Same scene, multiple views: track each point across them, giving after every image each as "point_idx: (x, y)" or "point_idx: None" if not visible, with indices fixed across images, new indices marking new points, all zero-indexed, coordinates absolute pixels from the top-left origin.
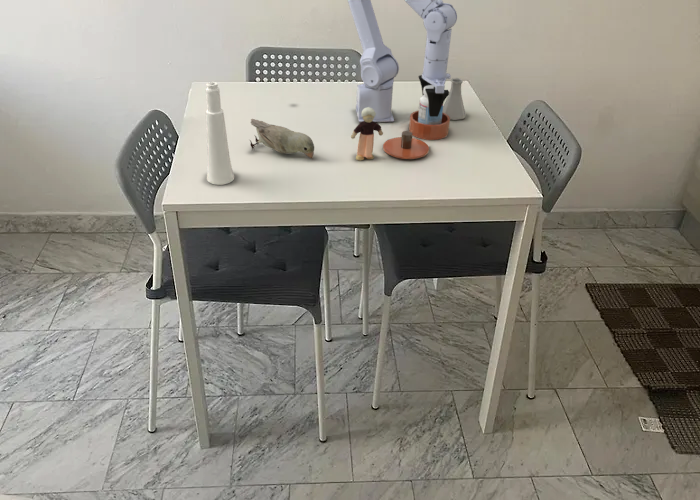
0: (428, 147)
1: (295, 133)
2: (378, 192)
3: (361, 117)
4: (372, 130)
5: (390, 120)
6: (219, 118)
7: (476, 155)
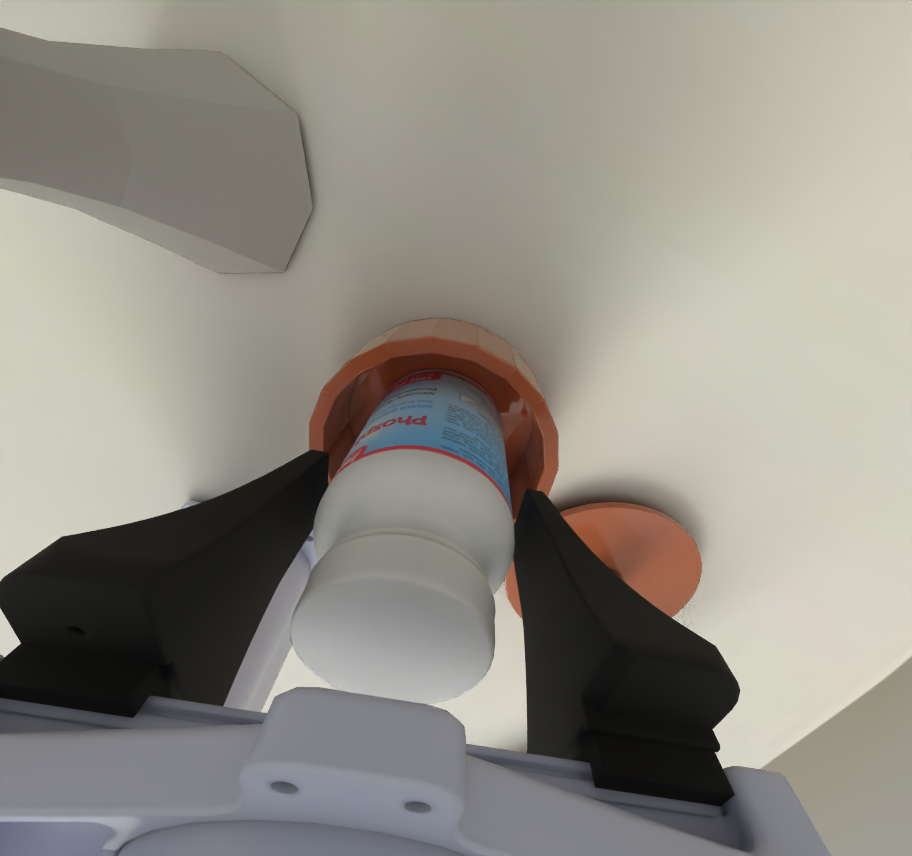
0: (649, 513)
1: None
2: (804, 700)
3: None
4: None
5: None
6: None
7: (815, 290)
